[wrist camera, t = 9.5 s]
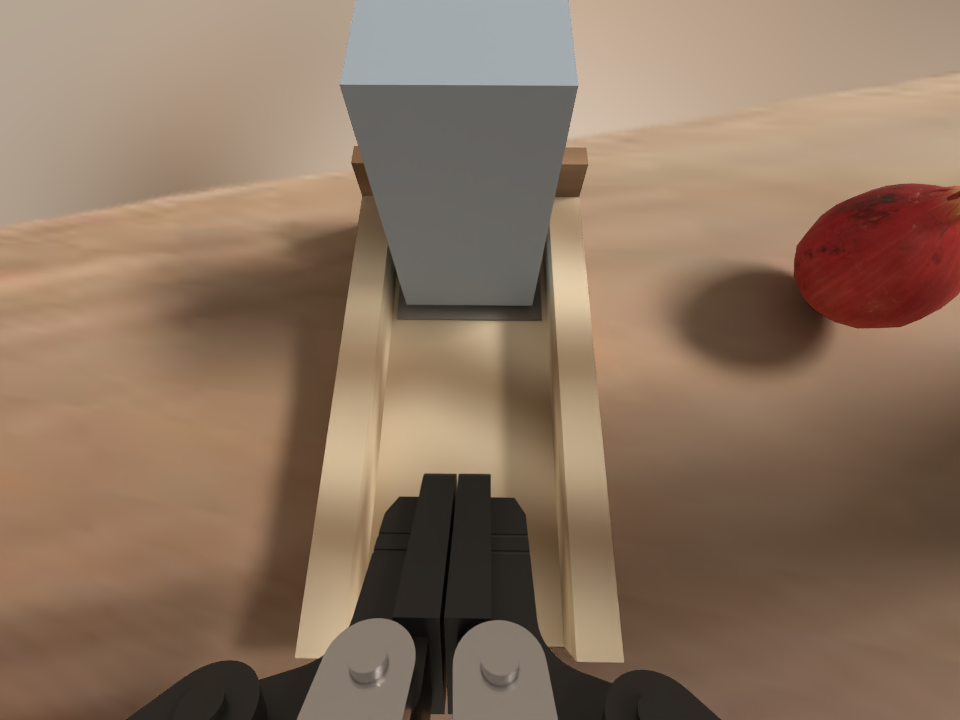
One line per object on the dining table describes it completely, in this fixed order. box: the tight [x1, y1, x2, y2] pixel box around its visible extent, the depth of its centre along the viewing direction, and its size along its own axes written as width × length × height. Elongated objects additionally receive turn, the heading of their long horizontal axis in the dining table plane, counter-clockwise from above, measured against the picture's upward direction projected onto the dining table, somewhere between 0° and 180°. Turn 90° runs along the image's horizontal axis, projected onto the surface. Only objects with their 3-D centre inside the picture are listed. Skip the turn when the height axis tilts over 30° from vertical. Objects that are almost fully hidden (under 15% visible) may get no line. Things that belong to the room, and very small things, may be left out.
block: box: [340, 0, 578, 306], centre depth 17 cm, size 5×6×11 cm
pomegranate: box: [794, 184, 960, 328], centre depth 19 cm, size 6×6×8 cm
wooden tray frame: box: [295, 146, 624, 663], centre depth 19 cm, size 20×10×5 cm, turn 179°
